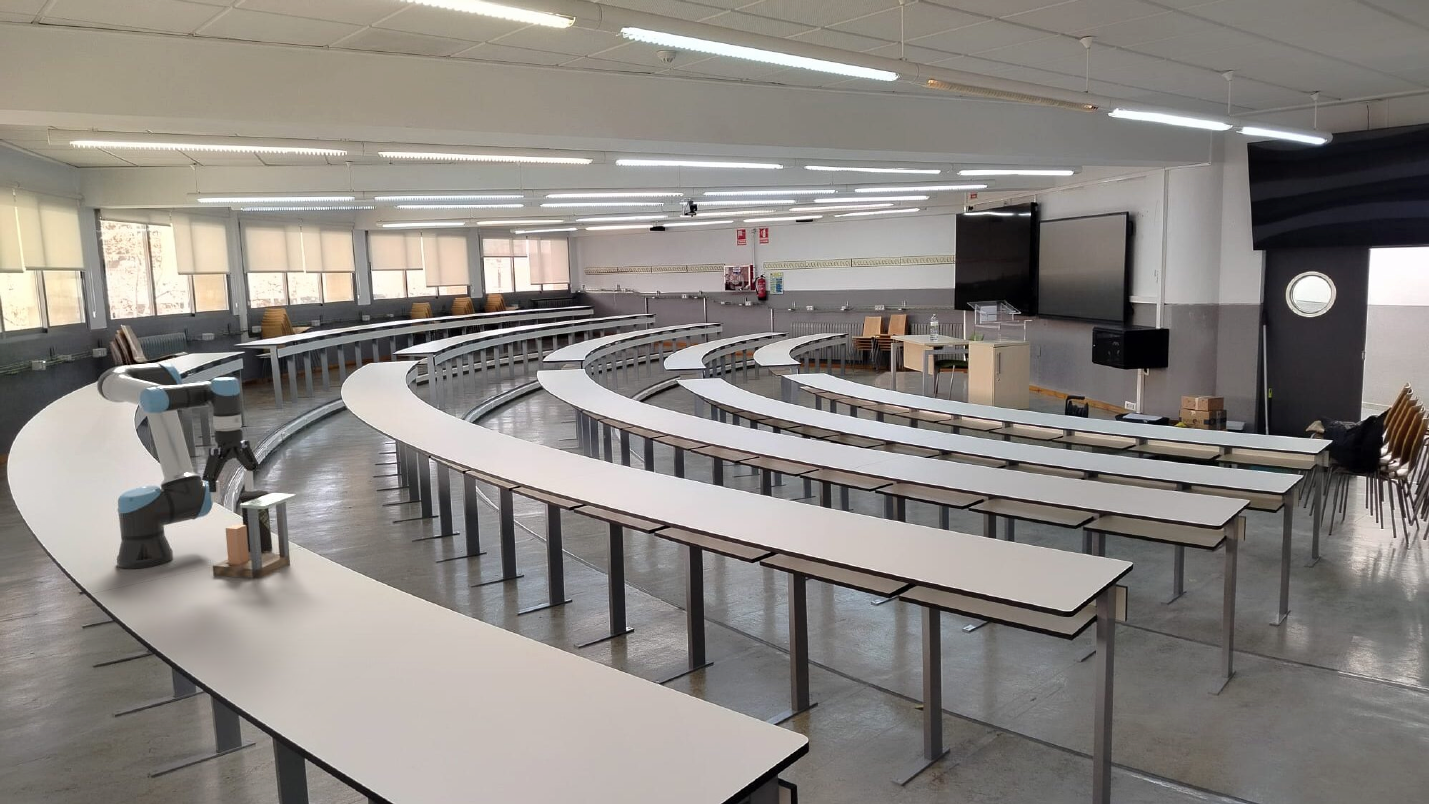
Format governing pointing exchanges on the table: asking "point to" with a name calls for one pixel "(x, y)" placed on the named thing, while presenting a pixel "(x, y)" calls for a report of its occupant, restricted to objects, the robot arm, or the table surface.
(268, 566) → the socket board
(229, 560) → the peg
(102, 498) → the table surface
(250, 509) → the white topped stool
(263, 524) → the container
